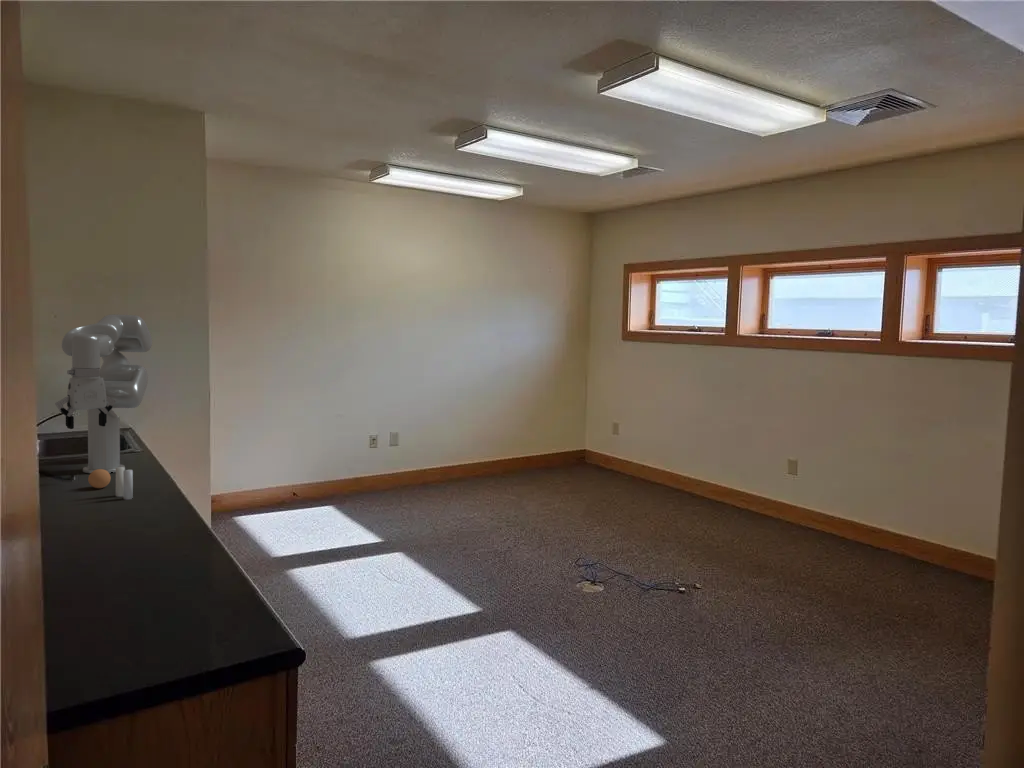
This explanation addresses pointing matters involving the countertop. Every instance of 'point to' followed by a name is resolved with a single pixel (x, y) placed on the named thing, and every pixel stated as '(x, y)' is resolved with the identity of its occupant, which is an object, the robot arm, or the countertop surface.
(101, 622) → the countertop surface
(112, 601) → the countertop surface
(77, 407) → the robot arm
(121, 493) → the pin
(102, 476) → the ball
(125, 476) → the pin
